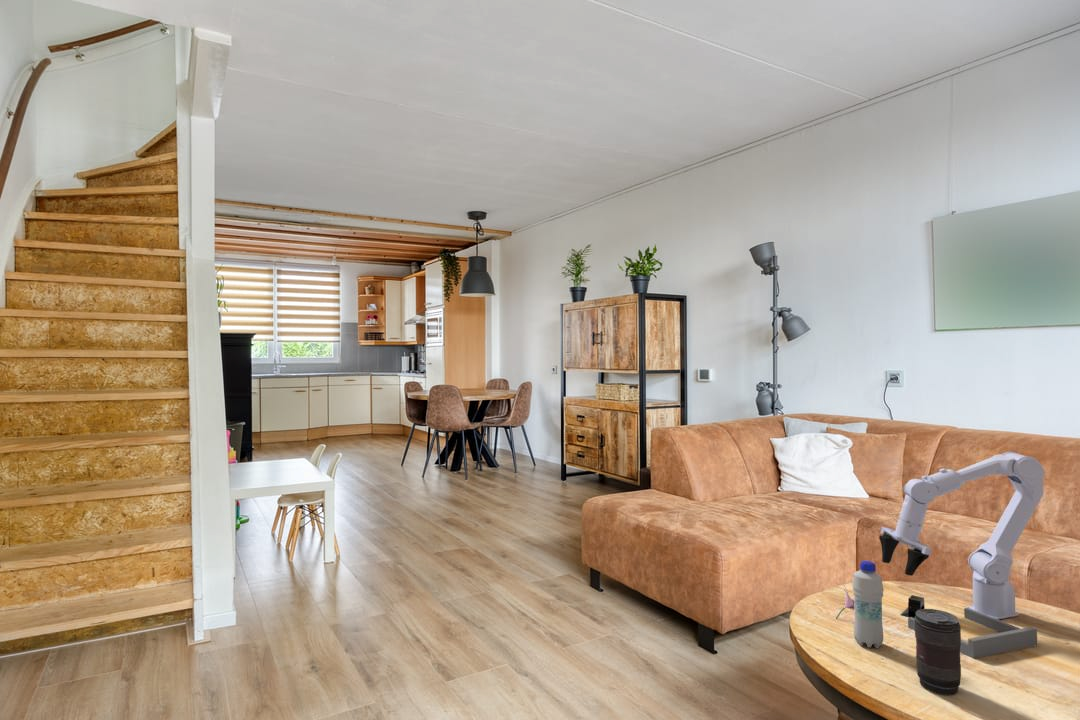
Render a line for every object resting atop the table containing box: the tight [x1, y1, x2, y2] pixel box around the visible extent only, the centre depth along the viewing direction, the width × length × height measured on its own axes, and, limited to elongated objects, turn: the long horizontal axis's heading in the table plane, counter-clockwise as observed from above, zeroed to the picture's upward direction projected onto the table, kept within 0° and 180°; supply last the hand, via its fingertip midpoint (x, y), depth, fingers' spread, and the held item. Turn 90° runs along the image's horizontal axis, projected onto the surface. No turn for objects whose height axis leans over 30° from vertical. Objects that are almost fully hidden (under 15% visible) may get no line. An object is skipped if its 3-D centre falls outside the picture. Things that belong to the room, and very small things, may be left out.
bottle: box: [851, 560, 885, 649], centre depth 147 cm, size 7×7×20 cm
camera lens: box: [914, 608, 962, 696], centre depth 127 cm, size 8×8×15 cm
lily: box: [835, 578, 854, 620], centre depth 161 cm, size 12×12×10 cm
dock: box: [907, 607, 1038, 659], centre depth 150 cm, size 20×17×4 cm
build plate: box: [900, 594, 926, 618], centre depth 164 cm, size 12×7×5 cm, turn 134°
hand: (896, 568), depth 169 cm, fingers open, 7 cm apart
